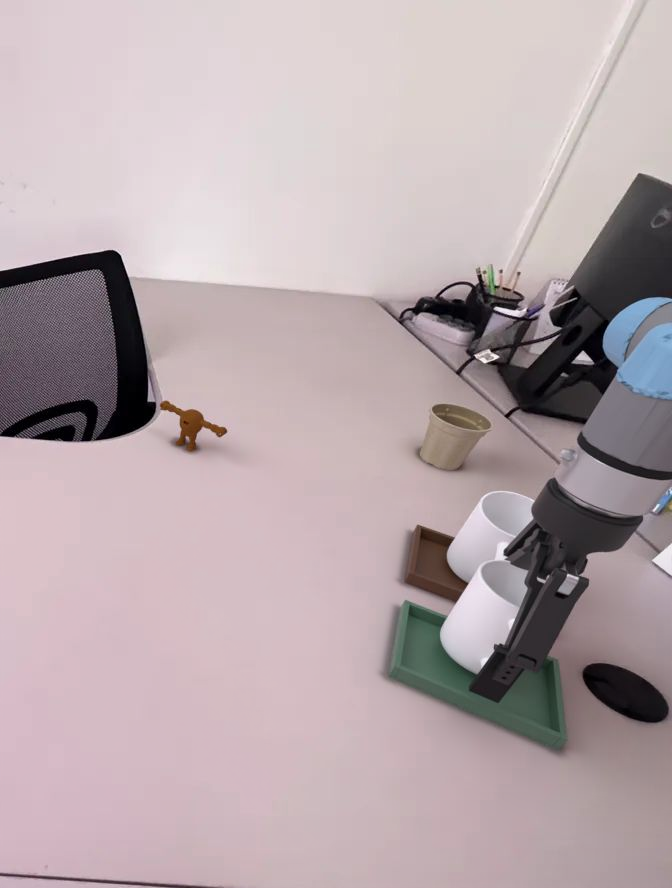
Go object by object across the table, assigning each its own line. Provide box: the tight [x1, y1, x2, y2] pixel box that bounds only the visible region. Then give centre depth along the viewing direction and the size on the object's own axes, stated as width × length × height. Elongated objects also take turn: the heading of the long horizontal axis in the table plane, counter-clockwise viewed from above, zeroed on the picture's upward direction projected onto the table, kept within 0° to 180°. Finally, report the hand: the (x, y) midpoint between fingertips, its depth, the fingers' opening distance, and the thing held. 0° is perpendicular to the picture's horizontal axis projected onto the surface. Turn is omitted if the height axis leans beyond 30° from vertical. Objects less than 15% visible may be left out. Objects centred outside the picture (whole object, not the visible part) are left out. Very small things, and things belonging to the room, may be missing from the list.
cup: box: [440, 560, 546, 674], centre depth 71 cm, size 8×12×10 cm
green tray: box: [387, 599, 568, 751], centre depth 75 cm, size 16×12×2 cm
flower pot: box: [419, 402, 495, 471], centre depth 112 cm, size 9×9×9 cm
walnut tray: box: [403, 524, 468, 604], centre depth 88 cm, size 16×12×2 cm
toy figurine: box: [159, 400, 228, 452], centre depth 108 cm, size 12×4×7 cm, turn 47°
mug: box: [447, 490, 535, 584], centre depth 84 cm, size 12×8×10 cm
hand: (483, 654), depth 73 cm, fingers closed on cup, 12 cm apart
